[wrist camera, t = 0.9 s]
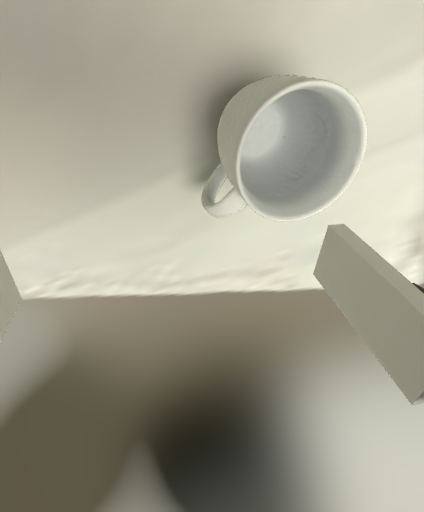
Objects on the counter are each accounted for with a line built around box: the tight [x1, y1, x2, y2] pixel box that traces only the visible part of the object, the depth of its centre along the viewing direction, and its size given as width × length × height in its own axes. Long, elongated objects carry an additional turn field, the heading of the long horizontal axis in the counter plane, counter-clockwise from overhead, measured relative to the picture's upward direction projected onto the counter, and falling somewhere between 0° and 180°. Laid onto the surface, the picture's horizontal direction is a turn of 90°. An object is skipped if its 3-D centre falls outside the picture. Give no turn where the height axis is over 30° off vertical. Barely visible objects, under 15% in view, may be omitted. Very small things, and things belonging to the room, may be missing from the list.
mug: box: [201, 75, 367, 222], centre depth 29 cm, size 15×11×13 cm
